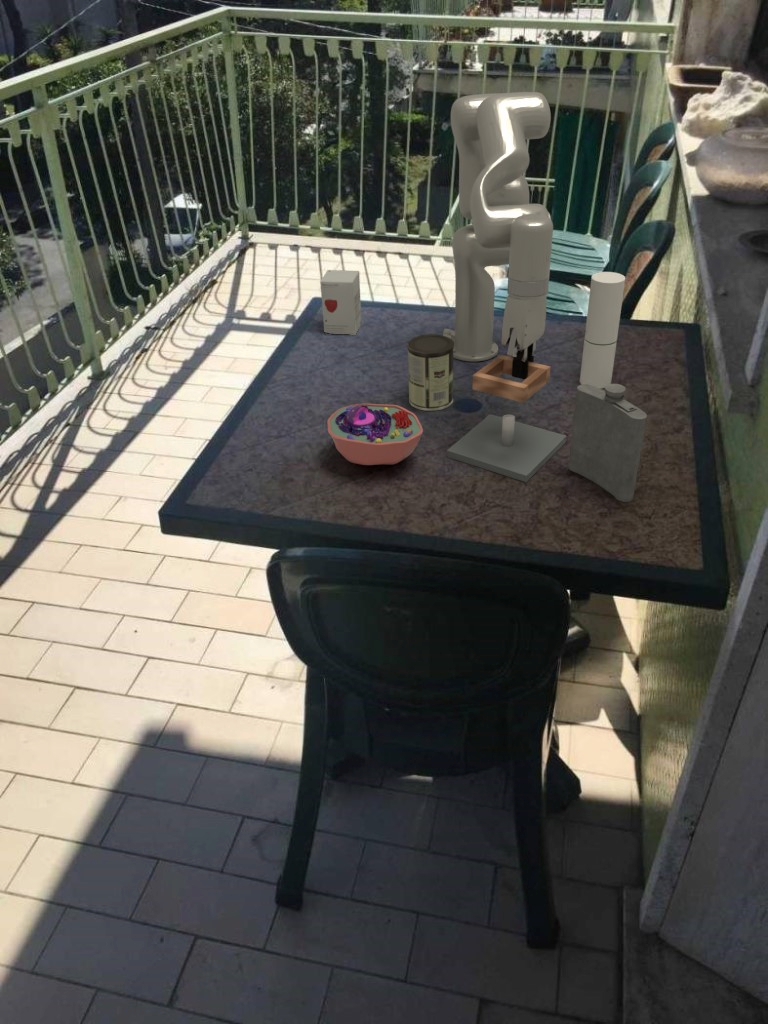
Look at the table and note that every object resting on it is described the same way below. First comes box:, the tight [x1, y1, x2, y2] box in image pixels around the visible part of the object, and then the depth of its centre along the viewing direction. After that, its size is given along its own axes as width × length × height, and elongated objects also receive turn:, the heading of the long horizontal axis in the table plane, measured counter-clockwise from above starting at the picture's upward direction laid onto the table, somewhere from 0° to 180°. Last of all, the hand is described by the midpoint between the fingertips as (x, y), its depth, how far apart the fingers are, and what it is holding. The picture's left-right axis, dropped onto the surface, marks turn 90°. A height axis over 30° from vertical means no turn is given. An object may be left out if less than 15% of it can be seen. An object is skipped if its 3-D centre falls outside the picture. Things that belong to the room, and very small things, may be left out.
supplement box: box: [319, 269, 362, 336], centre depth 218 cm, size 9×9×15 cm
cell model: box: [326, 403, 424, 466], centre depth 163 cm, size 17×20×11 cm
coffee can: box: [406, 334, 454, 412], centre depth 182 cm, size 10×10×14 cm
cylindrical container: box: [579, 271, 626, 389], centre depth 184 cm, size 7×7×25 cm
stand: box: [446, 413, 567, 483], centre depth 165 cm, size 18×18×8 cm
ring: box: [472, 354, 551, 403], centre depth 158 cm, size 11×11×3 cm
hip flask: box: [567, 383, 648, 503], centre depth 151 cm, size 16×4×20 cm, turn 33°
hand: (522, 375), depth 162 cm, fingers closed on ring, 1 cm apart
